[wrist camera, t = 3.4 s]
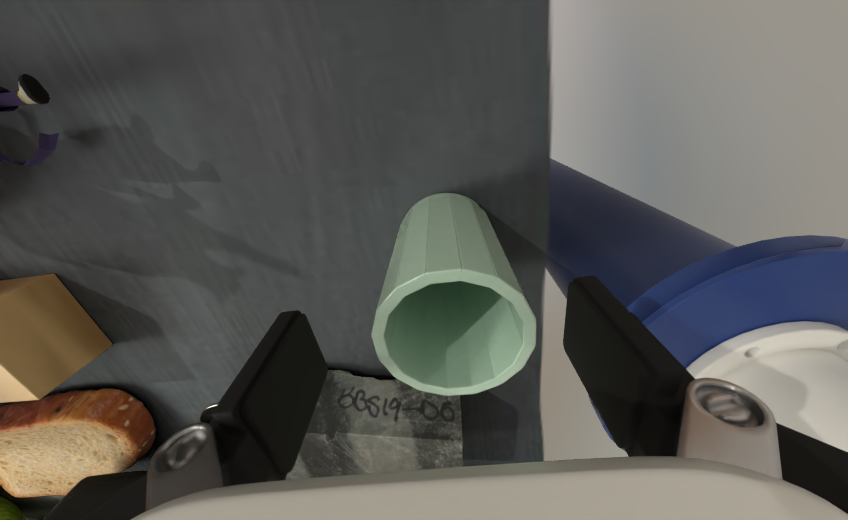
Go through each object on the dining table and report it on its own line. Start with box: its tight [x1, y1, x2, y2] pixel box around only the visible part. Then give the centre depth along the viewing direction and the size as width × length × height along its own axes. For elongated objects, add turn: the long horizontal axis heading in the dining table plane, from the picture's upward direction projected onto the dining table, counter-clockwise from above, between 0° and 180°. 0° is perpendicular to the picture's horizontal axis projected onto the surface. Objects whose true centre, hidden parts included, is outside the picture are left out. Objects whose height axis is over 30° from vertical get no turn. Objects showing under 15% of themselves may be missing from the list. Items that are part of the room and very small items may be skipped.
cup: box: [371, 193, 537, 396], centre depth 14 cm, size 6×6×9 cm
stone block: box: [285, 370, 463, 480], centre depth 23 cm, size 9×14×5 cm, turn 92°
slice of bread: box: [0, 388, 156, 498], centre depth 27 cm, size 18×18×4 cm
